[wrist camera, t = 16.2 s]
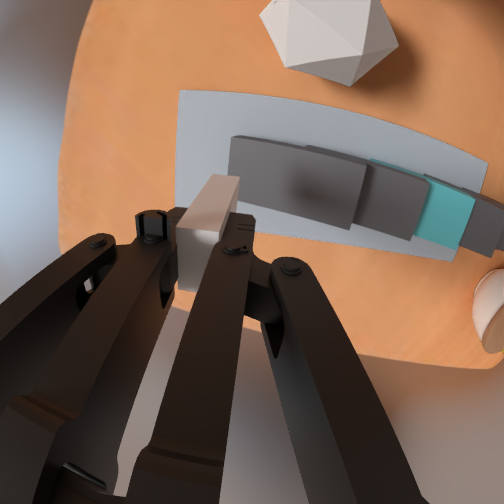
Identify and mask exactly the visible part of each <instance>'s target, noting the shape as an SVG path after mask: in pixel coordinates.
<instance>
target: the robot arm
mask: <svg viewBox="0 0 504 504" xmlns="http://www.w3.org/2000/svg"><path fill="white" fill-rule="evenodd" d="M239 181H240V177H238V176H229V175H220V174H212V176H211V177H210V178H209V180H208V181H207V182H206V184H205V185H204V187H203V188H202V189H201V191H200V192H199V194H198V195H197V196H196V198H195V199H194V201H193V202H192V204H191V205H190V206H189V208H185V207H175V208H173V209H171V210H169V211H168V212H166V211H162V210H147V211H143V212H140V213H138V214H137V215H135V220H136V231H137V237H136V238H135V240H134V241H133V242H132V243H131V244H127V245H116V242H115V238H114V236H112V235H110V234H105V233H101V234H100V233H98V234H96V235H92V236H90V237H88V238H86V239H85V240H83V241H82V242H80V243H79V244H77V245H76V246H75V247H73V248H72V249H70V250H69V251H67V252H66V253H65V254H63V255H62V256H61V257H59V258H58V259H56V260H55V261H54V262H53V263H51V264H50V265H48V266H47V267H46V268H44V269H43V270H42V271H40V272H39V273H38V274H36V275H35V276H34V277H33V278H31V279H30V280H29V281H28V282H26V283H25V284H24V285H23V286H21V287H20V288H19V289H18V290H17V291H15V292H14V293H13V294H12V295H11V296H9V297H8V298H7V299H6V300H5V301H4V302H3V303H1V304H0V504H219V498H220V491H221V483H222V476H223V467H224V460H225V453H226V445H227V437H228V430H229V422H230V414H231V407H232V399H233V392H234V385H235V377H236V370H237V362H238V355H239V347H240V340H241V332H242V325H243V317H244V315H246V316H248V317H251V318H253V319H256V320H258V321H261V330H262V333H263V337H264V341H265V345H266V349H267V353H268V356H269V360H270V364H271V368H272V371H273V375H274V379H275V382H276V386H277V390H278V393H279V397H280V401H281V405H282V408H283V412H284V416H285V419H286V423H287V426H288V430H289V434H290V437H291V441H292V444H293V448H294V452H295V455H296V459H297V463H298V466H299V470H300V473H301V477H302V480H303V484H304V487H305V490H306V494H307V498H308V501H309V504H429V503H428V502H427V501H426V500H425V499H424V498H423V497H422V496H421V493H420V491H419V488H418V486H417V483H416V481H415V478H414V476H413V473H412V471H411V468H410V466H409V464H408V461H407V459H406V457H405V454H404V452H403V450H402V448H401V445H400V443H399V441H398V438H397V436H396V434H395V432H394V430H393V428H392V425H391V423H390V421H389V419H388V417H387V414H386V412H385V410H384V408H383V406H382V404H381V402H380V400H379V397H378V395H377V393H376V391H375V389H374V387H373V385H372V383H371V381H370V379H369V377H368V375H367V373H366V371H365V369H364V367H363V365H362V363H361V361H360V359H359V357H358V355H357V353H356V351H355V349H354V347H353V345H352V343H351V341H350V339H349V338H348V336H347V334H346V332H345V330H344V328H343V326H342V324H341V322H340V320H339V319H338V317H337V315H336V313H335V311H334V309H333V307H332V306H331V304H330V302H329V300H328V298H327V296H326V295H325V293H324V291H323V289H322V287H321V285H320V284H319V282H318V280H317V278H316V276H315V275H314V273H313V271H312V269H311V268H310V267H309V265H308V264H307V263H305V262H304V261H302V260H300V259H298V258H294V257H279V258H277V259H275V260H274V261H273V262H272V264H270V263H267V262H265V261H262V260H261V259H259V258H257V257H256V256H255V255H254V253H253V241H254V233H255V225H256V219H255V218H254V217H253V215H251V214H243V213H236V210H237V200H238V191H239ZM87 279H89V280H90V283H91V287H92V289H90V290H89V291H86V289H85V286H84V282H85V281H86V280H87ZM177 279H178V289H180V290H186V291H192V292H197V294H196V297H195V300H194V303H193V306H192V309H191V312H190V314H189V318H188V321H187V324H186V326H185V329H184V332H183V335H182V339H181V342H180V345H179V348H178V351H177V354H176V357H175V361H174V364H173V367H172V370H171V373H170V376H169V379H168V383H167V386H166V389H165V393H164V396H163V399H162V403H161V406H160V410H159V413H158V416H157V420H156V423H155V427H154V430H153V434H152V437H151V440H150V442H149V444H148V445H147V446H146V447H145V448H144V449H142V450H141V452H140V454H139V455H138V457H137V460H136V463H135V465H134V468H133V472H132V476H131V479H130V483H129V487H128V491H127V495H126V497H120V496H115V495H113V493H114V489H115V484H116V481H117V477H118V462H117V454H118V450H119V446H120V443H121V440H122V437H123V434H124V430H125V427H126V424H127V422H128V419H129V416H130V413H131V410H132V407H133V404H134V401H135V398H136V395H137V392H138V389H139V387H140V384H141V381H142V378H143V375H144V373H145V370H146V367H147V365H148V362H149V359H150V357H151V354H152V352H153V349H154V347H155V344H156V341H157V339H158V336H159V334H160V331H161V329H162V326H163V324H164V321H165V319H166V316H167V314H168V311H169V309H170V307H171V304H172V302H173V299H174V295H175V291H174V285H175V283H176V281H177ZM63 465H64V466H63Z"/></svg>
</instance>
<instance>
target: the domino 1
mask: <svg viewBox="0 0 504 504" xmlns="http://www.w3.org/2000/svg"><path fill="white" fill-rule="evenodd" d="M366 167H367V165H366V162H363V161H359V160H356V159H352V158H348V157H345V156H341V155H337V154H333V153H329V152H325V151H321V150H316V149H312V148H308V147H303V146H298V145H294V144H289V143H284V142H278V141H273V140H267V139H262V138H256V137H250V136H243V135H237V136H233V137H231V142H230V152H229V163H228V174H227V175H229V176H238V177H240V181H239V191H238V200H237V201H240V202H245V203H249V204H253V205H257V206H261V207H265V208H269V209H272V210H276V211H280V212H284V213H288V214H292V215H295V216H299V217H303V218H306V219H310V220H314V221H317V222H321V223H324V224H328V225H331V226H335V227H338V228H342V229H345V230H349V231H350V227H351V224H352V220H353V217H354V213H355V210H356V206H357V202H358V199H359V195H360V191H361V187H362V183H363V179H364V175H365V171H366Z"/></svg>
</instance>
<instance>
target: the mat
mask: <svg viewBox="0 0 504 504" xmlns="http://www.w3.org/2000/svg"><path fill="white" fill-rule="evenodd" d="M237 135H243V136H250V137H256V138H262V139H267V140H273V141H278V142H284V143H289V144H294V145H298V146H303V147H305V146H307V145H312V146H316V147H321V148H325V149H329V150H333V151H337V152H341V153H345V154H348V155H352V156H356V157H359V158H363V159H366V160H370V158H372V159H376V160H379V161H382V162H385V163H388V164H392V165H395V166H398V167H401V168H404V169H407V170H409V171H412V172H415V173H418V174H421V175H424V173H425V174H427V175H430V176H433V177H435V178H438V179H440V180H443V181H445V182H448V183H450V184H453V185H455V186H457V187H460V188H462V187H464V188H466V189H469V190H471V191H474V192H476V193H479V194H480V191H481V188H482V184H483V181H484V178H485V174H486V170H487V167H488V163H487V162H485V161H483V160H481V159H479V158H477V157H475V156H473V155H471V154H469V153H467V152H464V151H462V150H460V149H458V148H456V147H453V146H451V145H449V144H447V143H444V142H442V141H439V140H437V139H434V138H432V137H429V136H427V135H424V134H422V133H419V132H416V131H413V130H411V129H408V128H405V127H402V126H399V125H396V124H393V123H390V122H387V121H383V120H380V119H377V118H373V117H370V116H366V115H363V114H359V113H355V112H351V111H347V110H343V109H339V108H334V107H330V106H325V105H320V104H315V103H310V102H305V101H299V100H293V99H287V98H280V97H273V96H266V95H257V94H248V93H236V92H222V91H201V90H180V93H179V105H178V120H177V138H176V165H175V207H185V208H189V206H190V205H191V204H192V202H193V201H194V199H195V198H196V196H197V195H198V194H199V192H200V191H201V189H202V188H203V187H204V185H205V184H206V182H207V181H208V180H209V178H210V177H211V176H212V174H220V175H227V174H228V163H229V152H230V142H231V137H233V136H237ZM236 213H243V214H251V215H253V217H254V218H255V219H256V225H255V232H260V233H268V234H275V235H282V236H289V237H296V238H304V239H311V240H317V241H324V242H331V243H338V244H344V245H351V246H358V247H364V248H370V249H377V250H383V251H389V252H395V253H402V254H408V255H414V256H420V257H426V258H431V259H437V260H443V261H449V262H453V259H454V257H455V255H456V253H457V251H458V248H459V245H458V246H457V249H456V250H453V249H451V248H448V247H445V246H443V245H440V244H437V243H434V242H431V241H428V240H426V239H423V238H420V237H417V236H414V235H412V238H411V241H407V240H404V239H401V238H398V237H395V236H392V235H388V234H385V233H382V232H379V231H376V230H372V229H369V228H366V227H363V226H359V225H356V224H353V223H352V224H351V227H350V231H349V230H345V229H342V228H338V227H335V226H331V225H328V224H324V223H321V222H317V221H314V220H310V219H306V218H303V217H299V216H295V215H292V214H288V213H284V212H280V211H276V210H272V209H269V208H265V207H261V206H257V205H253V204H249V203H245V202H240V201H237V210H236Z"/></svg>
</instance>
